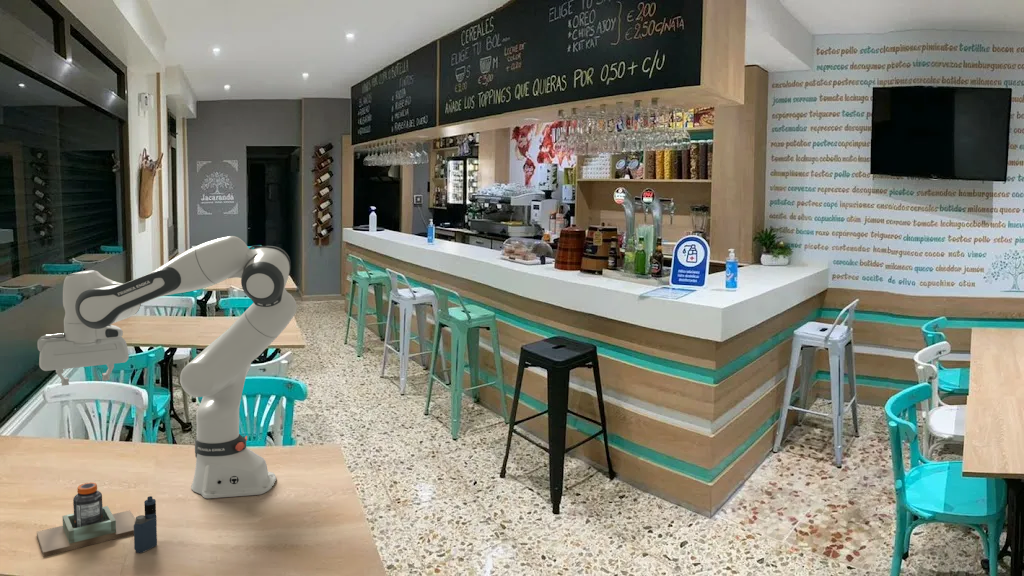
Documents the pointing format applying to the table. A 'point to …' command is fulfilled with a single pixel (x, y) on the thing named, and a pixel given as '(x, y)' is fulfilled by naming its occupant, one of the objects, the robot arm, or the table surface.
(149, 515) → the vaping device
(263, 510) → the table surface
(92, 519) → the pill bottle
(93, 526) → the socket board
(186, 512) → the table surface
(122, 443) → the table surface
